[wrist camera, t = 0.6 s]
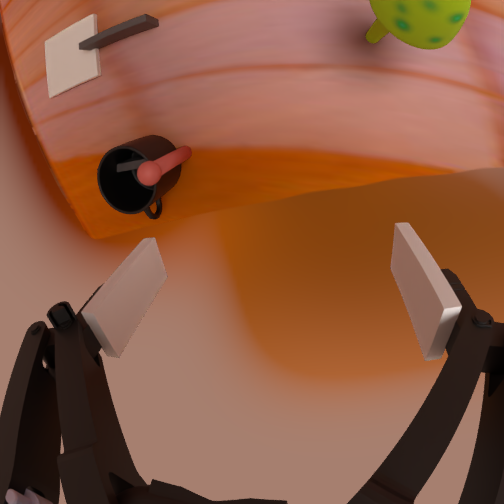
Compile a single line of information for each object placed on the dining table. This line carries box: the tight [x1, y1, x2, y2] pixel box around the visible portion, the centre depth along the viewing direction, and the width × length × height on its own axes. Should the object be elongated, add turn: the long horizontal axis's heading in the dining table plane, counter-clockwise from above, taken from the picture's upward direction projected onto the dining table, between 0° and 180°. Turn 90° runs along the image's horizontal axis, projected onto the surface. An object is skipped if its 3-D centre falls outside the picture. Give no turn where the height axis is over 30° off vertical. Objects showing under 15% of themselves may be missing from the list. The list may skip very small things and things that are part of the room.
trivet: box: [45, 13, 101, 98], centre depth 32 cm, size 12×12×1 cm
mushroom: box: [366, 0, 471, 49], centre depth 17 cm, size 8×8×25 cm
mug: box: [97, 135, 181, 219], centre depth 39 cm, size 9×12×9 cm
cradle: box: [79, 14, 192, 186], centre depth 31 cm, size 23×15×13 cm, turn 6°
